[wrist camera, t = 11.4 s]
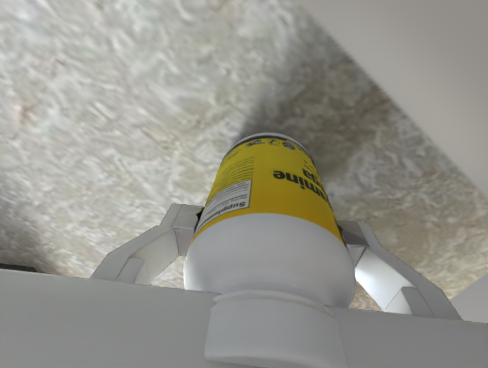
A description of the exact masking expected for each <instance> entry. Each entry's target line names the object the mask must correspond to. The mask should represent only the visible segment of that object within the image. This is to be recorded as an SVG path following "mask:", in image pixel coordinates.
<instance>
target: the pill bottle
mask: <svg viewBox="0 0 488 368" xmlns="http://www.w3.org/2000/svg"><path fill="white" fill-rule="evenodd" d="M183 277H184V285H185V289H187V290H196V291H205V292H214V293H221V294H222V295H219V296H216V297H214V298H213V300H214V301H215V302H217V304H216V305H214V306H213V307H212V308H211V309H210V310H211V316H210V321H209V327H208V334H207V339H206V344H205V350H204V356H205V358H206V359H207V360H209V361H214V362H223V363H232V364H242V365H250V366H258V367H266V368H348V366H347V362H346V357H345V353H344V349H343V346H342V341H341V337H340V333H339V324H338V322H337V321H336V320H335V319H334V318H333V316H334V315H335V313H334V312H333V311H332V310H330V309H328V308H327V307H325V306H324V305H330V306H339V307H348V308H349V306H350V304H351V302H352V299H353V296H354V292H355V285H356V278H355V271H354V266H353V262H352V259H351V256H350V253H349V251H348V248H347V245H346V243H345V240H344V238H343V235H342V231H341V230H340V228H339V225H338V223H337V220H336V217H335V215H334V212H333V210H332V207H331V205H330V203H329V200H328V197H327V195H326V192H325V190H324V187H323V184H322V182H321V179H320V177H319V173H318V171H317V169H316V166H315V164H314V161H313V160H312V158H311V156H310V154H309V153H308V151H307V150H306V149H305V148H304V147H303V146H302V145H301V144H300V143H299V142H297V141H296V140H294V139H292V138H290V137H288V136H286V135H282V134H278V133H258V134H254V135H251V136H248V137H246V138H243V139H242V140H240V141H238V142H237V143H236V144H234V145H233V146H232V147H231V148H230V149H229V150H228V152H227V153H226V154H225V156H224V158H223V160H222V162H221V164H220V167H219V169H218V172H217V175H216V177H215V180H214V183H213V186H212V188H211V191H210V194H209V196H208V199H207V202H206V204H205V207H204V210H203V213H202V215H201V218H200V221H199V223H198V226H197V229H196V231H195V234H194V236H193V239H192V241H191V244H190V247H189V249H188V252H187V256H186V259H185V263H184V270H183Z"/></svg>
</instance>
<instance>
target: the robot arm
mask: <svg viewBox="0 0 488 368" xmlns="http://www.w3.org/2000/svg"><path fill="white" fill-rule="evenodd" d="M203 210H204V207H203V206H195V205H187V204H177V203H173V204H172V205H171V206H170V208H169V210H168V211H167V213H166V215H165V217H164V218H163V220H162V222H161V224H160V225H159V226H155V227H153V228H151V229H149V230H148V231H146V232H144V233H143V234H141V235H139V236H137V237H136V238H134V239H132V240H131V241H129V242H127V243H125V244H124V245H122V246H120V247H119V248H117V249H115V250H113V251H112V252H110V253H108V254H107V256H106V257H105V258H104V260H103V261H102V262H101V264H100V265H99V266H98V268H97V269H96V270H95V272H94V273H93V274H92V276H91V277H90V278H80V277H71V276H62V275H53V274H44V273H35V272H26V271H17V270H8V269H0V368H266V367H258V366H250V365H242V364H232V363H223V362H214V361H209V360H207V359H206V358H205V356H204V350H205V344H206V339H207V334H208V327H209V321H210V316H211V310H210V309H211V308H212V307H213V306H214V305H216V304H217V302H215V301H214V300H213V298H214V297H216V296H219V295H222V294H221V293H214V292H205V291H196V290H187V289H178V288H169V287H160V286H152V284H151V281H153V280H154V279H155V278H156V277H157V276H158V275H159V274H160V273H161V272H162V271H164V270H165V269H166V268H167V267H168V266H169V265H170V264H171V263H172V262H173V261H174V260H176V259H177V258H178V257H179V256H187V252H188V249H189V247H190V244H191V241H192V239H193V236H194V234H195V231H196V229H197V226H198V223H199V221H200V218H201V215H202V213H203ZM337 223H338V225H339V228H340V230H341V231H342V235H343V238H344V240H345V243H346V245H347V248H348V251H349V253H350V256H351V259H352V262H353V266H354V271H355V278H356V280H357V281H358V282H359V283H360V285H361V286H362V287H363V288H364V289H365V290H366V291H367V293H368V294H369V295H370V296H371V297H372V298H373V299H374V300H375V302H376V303H377V304H378V305H379V306H380V307H381V308H382V310H383V311H374V310H365V309H357V308H348V307H339V306H330V305H324V306H325V307H327V308H328V309H330V310H332V311H333V312H334V313H335V315H334V316H333V318H334V319H335V320H336V321H337V322H338V324H339V333H340V337H341V341H342V346H343V349H344V353H345V357H346V362H347V366H348V368H488V323H480V322H472V321H463V319H462V318H461V317H460V315H459V314H458V312H457V311H456V309H455V308H454V307H453V305H452V304H451V302H450V301H449V299H448V298H447V297H446V295H445V294H444V292H443V291H442V290H441V289H440V288H438V287H437V286H436V285H434V284H433V283H432V282H430V281H429V280H428V279H426V278H425V277H424V276H422V275H421V274H419V273H418V272H417V271H415V270H414V269H413V268H411V267H410V266H409V265H407V264H406V263H404V262H403V261H402V260H400V259H399V258H398V257H396V256H395V255H394V254H392V253H391V252H390V251H388V250H387V249H383V248H382V247H381V245H380V243H379V241H378V240H377V238H376V236H375V234H374V232H373V231H372V229H371V227H370V225H369V224H368V223H367V222H362V221H347V220H337Z"/></svg>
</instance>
